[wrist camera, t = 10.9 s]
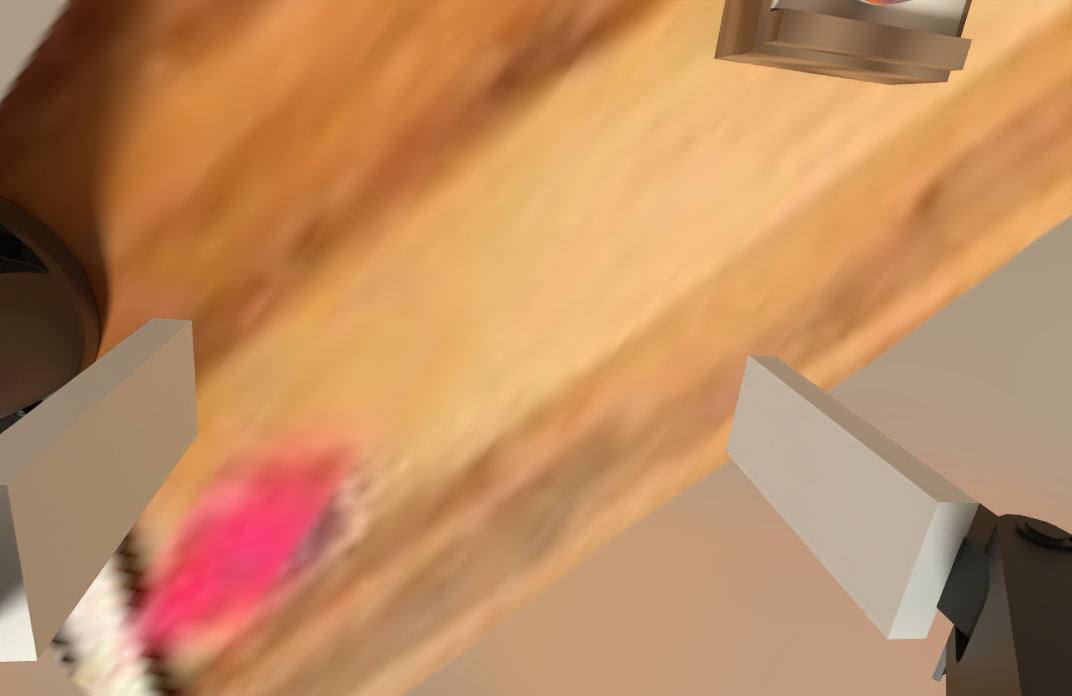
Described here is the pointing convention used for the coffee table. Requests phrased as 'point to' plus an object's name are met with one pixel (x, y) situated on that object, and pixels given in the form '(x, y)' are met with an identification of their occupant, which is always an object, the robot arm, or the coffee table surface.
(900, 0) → the pill bottle
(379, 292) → the coffee table surface
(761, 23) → the brown square open box
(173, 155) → the coffee table surface
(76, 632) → the coffee table surface
